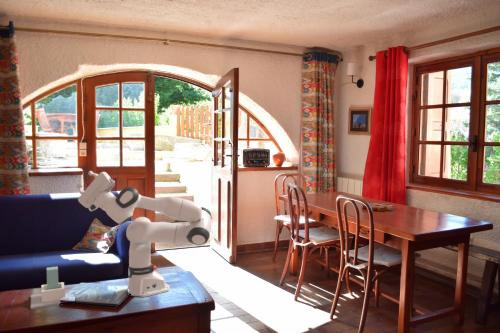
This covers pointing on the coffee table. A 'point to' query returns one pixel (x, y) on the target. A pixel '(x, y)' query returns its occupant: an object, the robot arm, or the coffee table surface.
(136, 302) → the coffee table surface
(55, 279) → the teal block
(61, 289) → the white block stand
